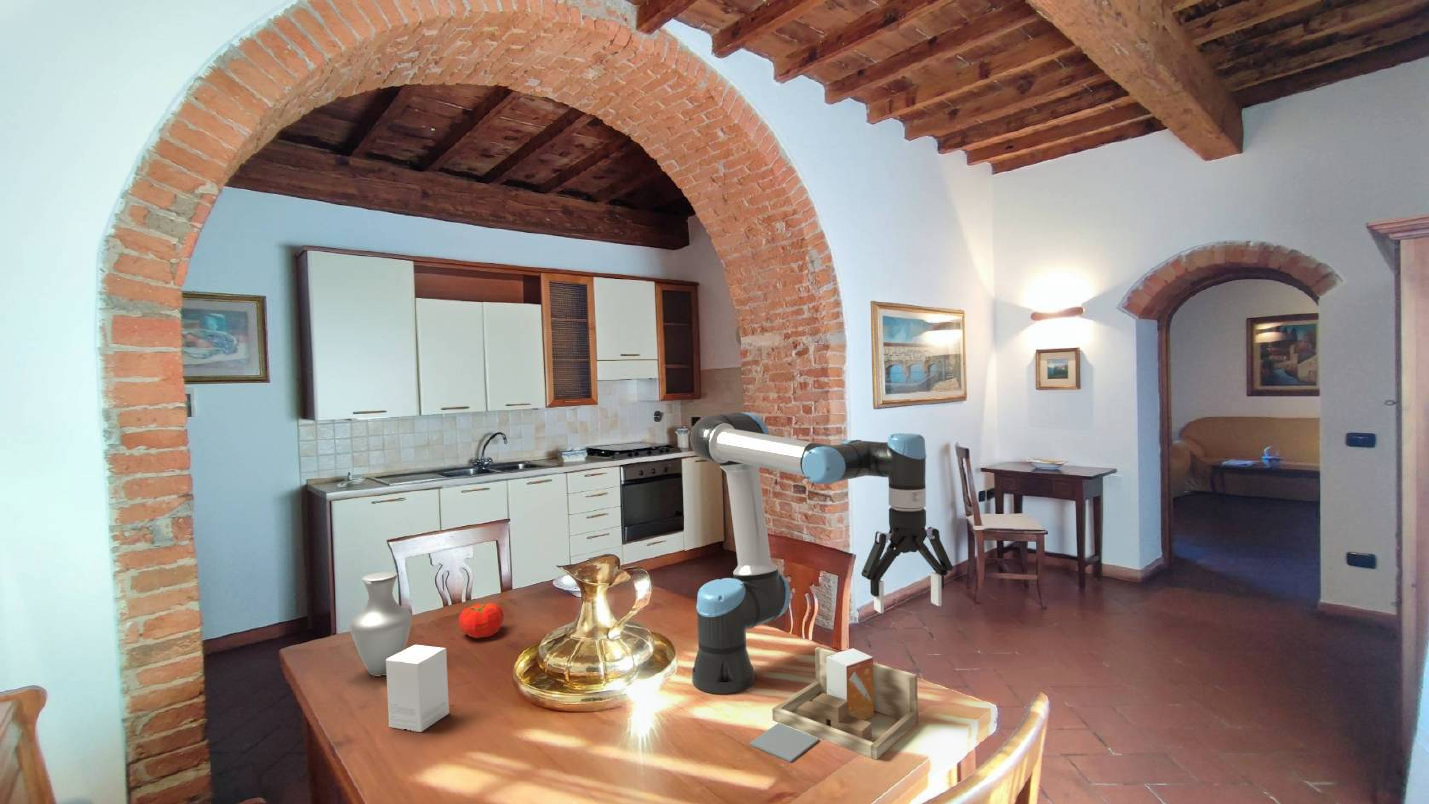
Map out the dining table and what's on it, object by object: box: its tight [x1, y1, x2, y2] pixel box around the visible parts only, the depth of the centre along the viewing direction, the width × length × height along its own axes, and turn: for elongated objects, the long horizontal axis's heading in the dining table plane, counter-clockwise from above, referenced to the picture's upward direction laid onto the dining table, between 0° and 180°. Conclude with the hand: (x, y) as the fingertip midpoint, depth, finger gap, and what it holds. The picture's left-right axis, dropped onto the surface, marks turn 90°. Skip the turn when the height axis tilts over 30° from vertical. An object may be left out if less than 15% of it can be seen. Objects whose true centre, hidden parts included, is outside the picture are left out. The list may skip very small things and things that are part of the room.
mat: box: [748, 722, 820, 763], centre depth 134 cm, size 10×10×1 cm
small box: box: [826, 647, 875, 721], centre depth 144 cm, size 8×6×13 cm
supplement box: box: [386, 644, 450, 733], centre depth 147 cm, size 9×9×15 cm
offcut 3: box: [831, 715, 873, 741], centre depth 135 cm, size 7×4×4 cm, turn 49°
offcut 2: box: [812, 693, 849, 723], centre depth 138 cm, size 6×4×3 cm, turn 49°
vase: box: [349, 571, 413, 675], centre depth 173 cm, size 14×14×25 cm
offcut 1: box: [797, 700, 831, 727], centre depth 141 cm, size 7×4×4 cm, turn 49°
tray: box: [771, 646, 919, 761], centre depth 142 cm, size 24×18×10 cm
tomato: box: [458, 602, 504, 639], centre depth 197 cm, size 14×13×9 cm
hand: (907, 607), depth 141 cm, fingers open, 13 cm apart
